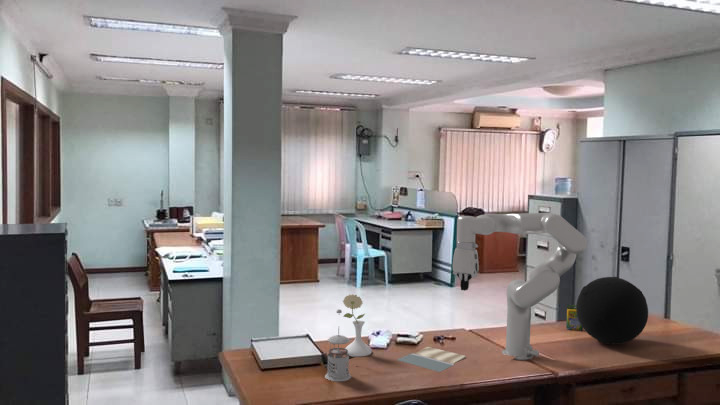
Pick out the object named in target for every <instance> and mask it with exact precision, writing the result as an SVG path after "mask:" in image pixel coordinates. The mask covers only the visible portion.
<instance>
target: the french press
mask: <svg viewBox="0 0 720 405" xmlns="http://www.w3.org/2000/svg"><path fill="white" fill-rule="evenodd" d="M342 312H343V311H342V309H337V310H336V314H342ZM337 330H338V334H336V335H332V336H330V337H328V338H327V342H329V346H332V345H333V348H329V349H328V354H327V372H326V374H325V375H324V379H326V380H327V379H328V381H330V380H331V382H346V381H348V380H350V379H351V378H352V375H351V374H350V368H349V367H350V356H349V354H348V353H347V352H348V350H347V349H345V348H343V347H340V345H345V344H348V343H349V342H350V340H351V339H350V338H348V337H347V336H345V335H342V334H340V327H338V329H337ZM335 345H337V347H335Z"/></svg>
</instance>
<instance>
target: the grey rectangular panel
mask: <svg viewBox="0 0 720 405" xmlns="http://www.w3.org/2000/svg"><path fill="white" fill-rule="evenodd" d="M396 361H398V362H402V363H405V364H409V365H414V366H415V367H416V366H417V367H420V368H424V369H427V370H430V371H431V370H432V371H434V372H438V373H441V372H442V371H445V370H446V369H449V368H451V367H453V366H455V363H453V364H451V363H448V362H444V361H440V360H436V359H432V358H429V357H425V356H421V355H417V354H414V353H409V354H408V355H404V356H401V357H399V358H397V359H396Z"/></svg>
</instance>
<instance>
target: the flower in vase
mask: <svg viewBox="0 0 720 405" xmlns="http://www.w3.org/2000/svg"><path fill="white" fill-rule="evenodd" d="M342 302H343V305H344V307H346V308H347V309H351V313H352V314H351V313H349V312H346V313H345V314H344V315H343V316H342V317H343V318H347V319H351V318H352V317H353V318H354V319H355V320H353V321H352V324H353V326H354V329H355V338H354V340H353V341H352V342H351V343H349V344H348V345H347V346H346V347H345V348H344V349H347V350H348V352H347V353H348V354H349V357H352V358H357V357H367V356H369V355H372V352H373V350H372V348H371V347H370V346H369V345H368V344H366V342H364V340H362V329H363V326H364V324H365V323H366V322H365V321H363V320H359V319H362V318H363V317H364V316H365V315H366V313H362V314H359V315H358V316H357V317H356V316H355V315H354V310H355V309H356V310H357V309H359V308H361V307H362V306H363V302H364V301H363V300H362V298H361V297H360V296H358V295H357V294H352V293H351V294H348V295H346V296H345V297H344V298H343V300H342Z"/></svg>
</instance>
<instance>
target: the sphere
mask: <svg viewBox="0 0 720 405" xmlns="http://www.w3.org/2000/svg"><path fill="white" fill-rule="evenodd" d="M575 308H576V312H577V317H578V320H579V322H580V324H581V326H582V327H583V330H584V331H585V332H586V334H588V335H589V336H590V337H591V338H593V339H595V340H596V341H598V342H600V343H602V344H604V345H605V344H606V345H620V344H621V345H622V344H625V343H628V342H631V341H632V340H634V339H636V338H637V337H639V335H641V334H642V332H643V331H644V329H645V327H646V326H647V323H648V318H649V308H648V303H647V299H646V296H644V293H643V291H642V290H640V288H638V287H637V286H636V285H634V284H633V283H631V282H630V281H628V280H625V279H624V278H620V277H618V276H605V277H600V278H599V277H598V278H596V279H594V280H592V281H590V282H589V283H587V284H586V285H584V286H583V287H582V288H581V290H580V292H579V295H578V297H577V301H576V306H575Z"/></svg>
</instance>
